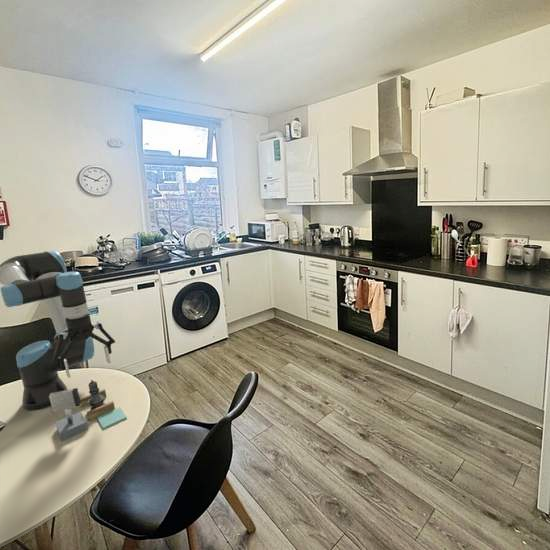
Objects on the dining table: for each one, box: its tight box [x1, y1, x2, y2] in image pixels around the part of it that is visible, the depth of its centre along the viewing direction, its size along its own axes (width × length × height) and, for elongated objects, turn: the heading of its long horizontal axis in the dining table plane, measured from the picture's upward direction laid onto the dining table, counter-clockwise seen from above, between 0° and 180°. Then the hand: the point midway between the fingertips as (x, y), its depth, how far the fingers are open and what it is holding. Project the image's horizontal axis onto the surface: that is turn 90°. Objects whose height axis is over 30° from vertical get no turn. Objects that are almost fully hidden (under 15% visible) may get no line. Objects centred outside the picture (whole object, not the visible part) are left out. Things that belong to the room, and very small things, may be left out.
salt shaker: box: [88, 379, 106, 411], centre depth 129 cm, size 6×6×12 cm
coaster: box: [96, 406, 128, 430], centre depth 123 cm, size 8×8×1 cm
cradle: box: [80, 388, 116, 421], centre depth 130 cm, size 12×9×3 cm
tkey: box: [49, 387, 81, 422], centre depth 116 cm, size 8×2×11 cm, turn 107°
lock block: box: [55, 411, 89, 442], centre depth 118 cm, size 8×8×3 cm
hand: (89, 368), depth 126 cm, fingers open, 13 cm apart
